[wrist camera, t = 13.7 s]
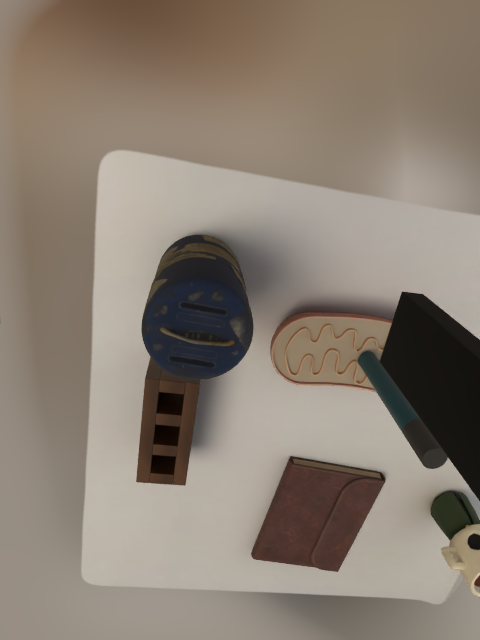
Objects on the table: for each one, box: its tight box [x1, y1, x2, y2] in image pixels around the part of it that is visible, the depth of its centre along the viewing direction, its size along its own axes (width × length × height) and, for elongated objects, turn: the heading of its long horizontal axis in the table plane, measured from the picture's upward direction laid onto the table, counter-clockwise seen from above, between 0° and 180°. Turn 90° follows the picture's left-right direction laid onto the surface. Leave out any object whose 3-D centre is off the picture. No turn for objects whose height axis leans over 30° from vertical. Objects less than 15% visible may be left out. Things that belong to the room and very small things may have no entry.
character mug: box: [431, 492, 480, 597], centre depth 64 cm, size 11×7×13 cm, turn 84°
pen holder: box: [136, 357, 200, 485], centre depth 55 cm, size 6×15×7 cm, turn 171°
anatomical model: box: [271, 312, 392, 392], centre depth 54 cm, size 23×10×5 cm, turn 78°
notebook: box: [251, 457, 385, 572], centre depth 68 cm, size 15×20×2 cm
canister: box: [142, 235, 253, 380], centre depth 43 cm, size 10×10×18 cm
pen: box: [358, 351, 448, 469], centre depth 44 cm, size 2×2×17 cm
